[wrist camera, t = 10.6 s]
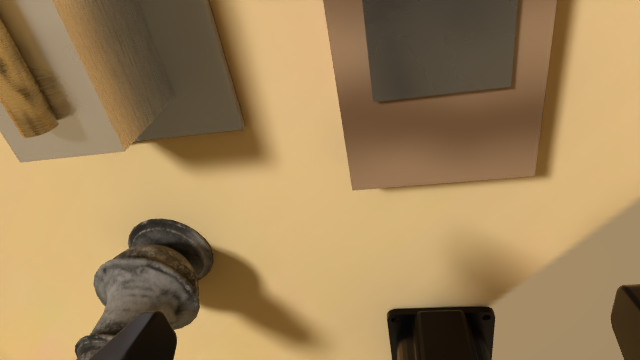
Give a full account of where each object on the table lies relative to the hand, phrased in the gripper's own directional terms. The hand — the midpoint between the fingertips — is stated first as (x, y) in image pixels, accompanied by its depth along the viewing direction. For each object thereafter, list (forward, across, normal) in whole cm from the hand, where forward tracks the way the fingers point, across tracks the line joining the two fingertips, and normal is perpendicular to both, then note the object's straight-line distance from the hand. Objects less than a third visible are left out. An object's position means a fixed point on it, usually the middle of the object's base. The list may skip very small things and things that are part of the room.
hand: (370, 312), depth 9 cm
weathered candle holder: (+13, +14, +9) cm, 21 cm away
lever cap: (+12, +11, -5) cm, 17 cm away
